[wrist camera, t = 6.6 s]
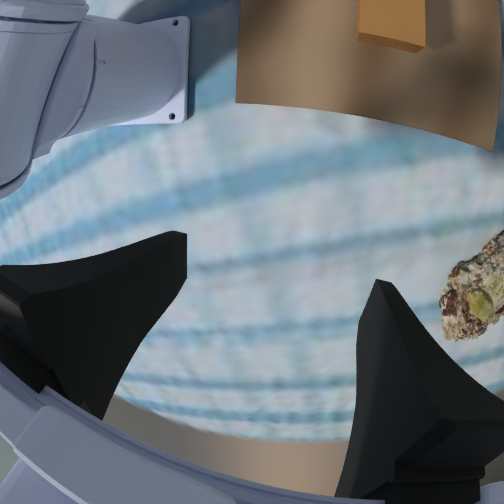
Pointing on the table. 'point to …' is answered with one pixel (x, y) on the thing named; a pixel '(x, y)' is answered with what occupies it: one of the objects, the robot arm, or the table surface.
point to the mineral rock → (474, 293)
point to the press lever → (392, 23)
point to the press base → (376, 65)
